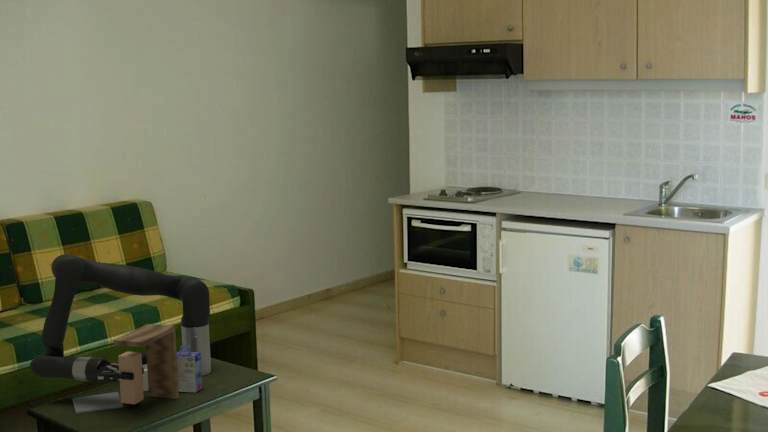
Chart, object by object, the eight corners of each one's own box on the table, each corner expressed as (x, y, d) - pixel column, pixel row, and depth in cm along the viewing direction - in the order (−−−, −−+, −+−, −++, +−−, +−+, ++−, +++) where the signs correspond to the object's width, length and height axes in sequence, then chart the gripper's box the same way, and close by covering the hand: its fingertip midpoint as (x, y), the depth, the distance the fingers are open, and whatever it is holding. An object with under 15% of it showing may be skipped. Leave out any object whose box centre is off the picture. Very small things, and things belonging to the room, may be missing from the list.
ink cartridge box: (203, 387, 303) (201, 345, 301) (196, 393, 298) (194, 350, 295) (175, 386, 305) (173, 344, 303) (168, 391, 300) (165, 348, 297)
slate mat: (72, 400, 293) (72, 398, 293) (117, 393, 299) (117, 391, 299) (76, 414, 281) (75, 412, 281) (123, 407, 286) (123, 405, 286)
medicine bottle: (152, 383, 308) (150, 349, 306) (153, 390, 301) (151, 354, 300) (130, 386, 306) (128, 351, 304) (131, 392, 299) (129, 357, 297)
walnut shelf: (118, 415, 279) (113, 340, 276) (151, 394, 297) (147, 324, 294) (146, 418, 276) (142, 342, 273) (178, 397, 294) (175, 325, 291)
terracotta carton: (120, 402, 285) (118, 356, 282) (129, 397, 289) (127, 351, 287) (135, 404, 283) (132, 357, 281) (143, 398, 288) (141, 352, 286)
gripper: (76, 364, 282) (124, 368, 277) (103, 351, 295) (150, 355, 290) (77, 388, 283) (126, 392, 278) (104, 373, 296) (151, 378, 291)
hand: (138, 373), depth 284 cm, fingers closed on terracotta carton, 5 cm apart
